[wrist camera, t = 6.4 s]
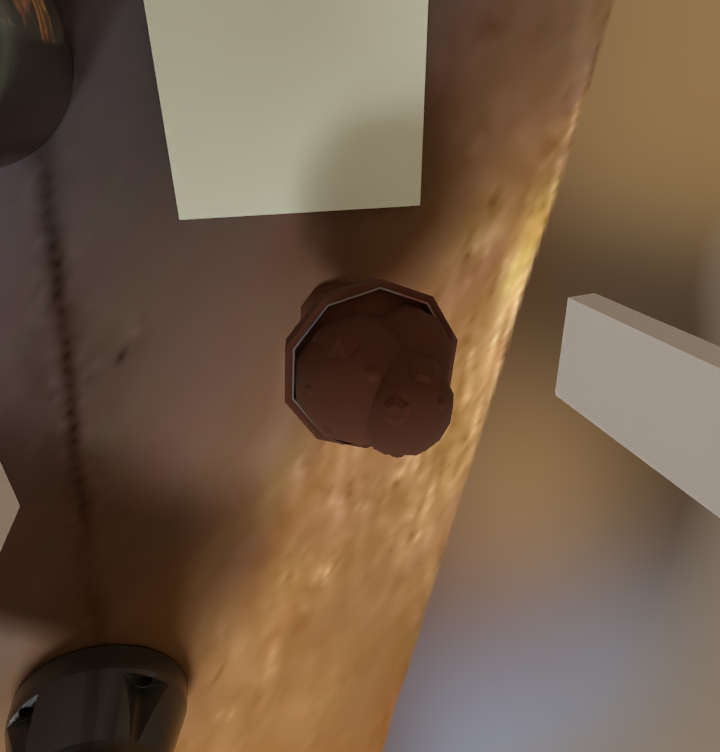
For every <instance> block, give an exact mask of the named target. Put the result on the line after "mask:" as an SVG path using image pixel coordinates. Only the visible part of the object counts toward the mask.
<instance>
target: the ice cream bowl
mask: <svg viewBox="0 0 720 752" xmlns="http://www.w3.org/2000/svg"><path fill="white" fill-rule="evenodd" d="M456 346H457V338H456V336H455V335H454V333H453V331H452V329H451V328H450V326H449V324H448V322H447V320H446V319H445V317H444V315H443V313H442V312H441V310H440V308H439V306H438V305H437V303H436V301H435V299H434V297H432V296H429V295H426V294H424V293H421V292H418V291H415V290H412V289H409V288H406V287H403V286H400V285H397V284H394V283H391V282H388V281H385V280H382V279H378V278H374V277H372V278H369V279H366V280H363V281H360V282H357V283H354V284H351V285H347V284H344V283H341V282H338V281H337V282H334V283H331V284H328V285H325V286H322V287H319V288H316V289H315V290H314V291H313V293H312V294H311V295H310V297H309V298H308V299H307V300H306V302H305V303H304V304H303V306H302V307H301V320H300V322H299V323H298V324H297V326H296V327H295V328H294V330H293V331H292V332H291V334H290V335H289V336H288V337H287V339H286V347H285V403H286V404H287V405H288V406H289V407H290V408H291V409H292V411H293V412H294V413H295V414H296V415H297V416H298V418H299V419H300V420H301V421H302V422H303V423H304V424H305V426H306V427H307V428H308V429H309V430H310V431H311V432H312V434H313V435H314V436H315V437H316V438H317V439H320V440H325V441H331V442H336V443H339V444H342V445H344V444H347V445H352V446H358V447H363V448H368V447H371V446H372V447H373V448H374V449H376V450H378V451H380V452H382V453H384V454H389V455H391V456H393V457H396V458H398V457H402V456H404V455H418V454H420V453H422V452H424V451H425V450H427V449H428V448H430V447H431V446H432V445H434V444H435V443H436V442H438V441H439V440H440V439H441V437H442V435H443V434H444V432H445V431H446V429H447V427H448V426H449V424H450V420H451V415H452V409H453V392H452V390H451V388H450V383H451V377H452V370H453V364H454V358H455V352H456Z"/></svg>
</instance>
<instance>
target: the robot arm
mask: <svg viewBox="0 0 720 752" xmlns="http://www.w3.org/2000/svg"><path fill="white" fill-rule="evenodd" d="M555 395H556V396H557V397H559V398H560V399H561V400H563V401H564V402H566V403H567V404H568V405H570V406H571V407H572V408H573V409H575V410H576V411H578V412H579V413H580V414H581V415H583V416H584V417H586V418H587V419H588V420H590V421H591V422H592V423H594V424H595V425H596V426H598V427H599V428H600V429H602V430H603V431H604V432H606V433H607V434H608V435H610V436H611V437H612V438H614V439H615V440H616V441H618V442H619V443H621V444H622V445H623V446H624V447H626V448H627V449H628V450H630V451H631V452H632V453H634V454H635V455H636V456H638V457H639V458H640V459H642V460H643V461H644V462H646V463H647V464H648V465H650V466H651V467H652V468H654V469H655V470H656V471H658V472H659V473H660V474H662V475H663V476H664V477H666V478H667V479H668V480H670V481H671V482H672V483H674V484H675V485H676V486H678V487H679V488H680V489H682V490H683V491H684V492H686V493H687V494H688V495H690V496H691V497H693V498H694V499H695V500H696V501H698V502H699V503H700V504H702V505H703V506H704V507H706V508H707V509H708V510H710V511H711V512H713V513H714V514H715V515H717V516H718V517H719V518H720V347H719V346H716V345H714V344H712V343H709V342H707V341H705V340H702V339H700V338H698V337H695V336H693V335H691V334H688V333H686V332H684V331H681V330H679V329H676V328H674V327H672V326H670V325H667V324H665V323H662V322H660V321H658V320H656V319H653V318H651V317H649V316H646V315H644V314H642V313H639V312H637V311H635V310H632V309H630V308H627V307H625V306H623V305H621V304H618V303H616V302H614V301H611V300H609V299H607V298H604V297H602V296H600V295H597V294H595V293H594V294H587V295H582V296H575V297H569V298H568V303H567V310H566V318H565V324H564V332H563V339H562V347H561V354H560V361H559V369H558V376H557V383H556V390H555ZM19 507H20V505H19V503H18V500H17V498H16V496H15V494H14V491H13V489H12V487H11V485H10V482H9V480H8V478H7V476H6V474H5V471H4V469H3V467H2V465H1V462H0V551H1V549H2V547H3V544H4V542H5V540H6V537H7V535H8V533H9V530H10V528H11V526H12V523H13V521H14V519H15V516H16V514H17V512H18V509H19ZM186 709H187V681H186V677H185V675H184V672H183V671H182V669H181V668H180V667H179V665H178V664H177V663H176V662H174V661H173V660H172V659H171V658H169V657H167V656H166V655H164V654H162V653H160V652H157V651H154V650H151V649H147V648H143V647H138V646H128V645H109V646H99V647H93V648H88V649H83V650H80V651H76V652H73V653H70V654H67V655H64V656H62V657H60V658H57V659H55V660H53V661H51V662H49V663H48V664H46V665H44V666H43V667H41V668H40V669H38V670H37V671H35V672H34V673H33V674H32V675H30V676H29V677H28V678H27V679H26V680H25V681H24V683H23V684H22V685H21V686H20V688H19V689H18V691H17V692H16V694H15V696H14V699H13V702H12V705H11V709H10V712H9V715H8V719H7V722H6V728H5V747H6V752H174V749H175V746H176V743H177V740H178V737H179V734H180V731H181V728H182V725H183V722H184V719H185V715H186Z"/></svg>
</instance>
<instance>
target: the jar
mask: <svg viewBox="0 0 720 752" xmlns="http://www.w3.org/2000/svg"><path fill="white" fill-rule="evenodd" d="M72 80H73V64H72V55H71V49H70V44H69V40H68V36H67V32H66V29H65V26H64V23H63V21H62V18H61V16H60V14H59V11H58V9H57V7H56V5H55V3H54V1H53V0H0V168H1V167H4V166H7V165H10V164H12V163H15V162H17V161H19V160H21V159H23V158H25V157H27V156H29V155H30V154H32V153H33V152H35V151H36V150H38V149H39V148H40V147H41V146H42V145H43V144H44V143H45V142H46V141H47V140H48V139H49V138H50V137H51V136H52V134H53V133H54V132H55V130H56V129H57V127H58V126H59V124H60V123H61V121H62V119H63V116H64V114H65V112H66V109H67V106H68V103H69V99H70V95H71V89H72Z"/></svg>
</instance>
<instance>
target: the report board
mask: <svg viewBox="0 0 720 752" xmlns="http://www.w3.org/2000/svg"><path fill="white" fill-rule="evenodd" d="M144 6H145V12H146V18H147V25H148V31H149V37H150V43H151V49H152V55H153V61H154V67H155V74H156V80H157V86H158V92H159V98H160V104H161V110H162V116H163V122H164V129H165V135H166V141H167V147H168V153H169V159H170V165H171V171H172V178H173V184H174V190H175V196H176V202H177V208H178V214H179V220H186V219H203V218H220V217H236V216H253V215H270V214H286V213H303V212H320V211H336V210H353V209H370V208H386V207H403V206H420V196H421V171H422V146H423V121H424V96H425V71H426V46H427V21H428V0H144Z"/></svg>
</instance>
